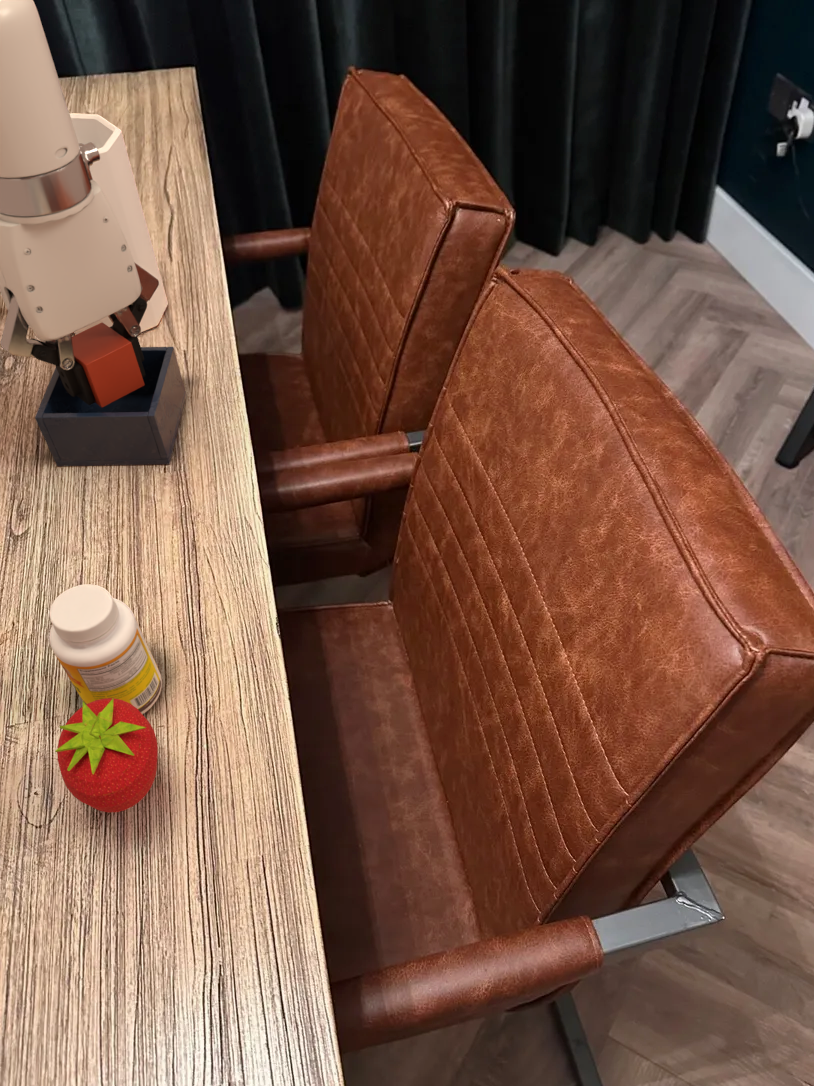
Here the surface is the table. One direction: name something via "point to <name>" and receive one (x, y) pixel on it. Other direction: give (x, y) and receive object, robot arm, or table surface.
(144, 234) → the cup
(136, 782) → the strawberry
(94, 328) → the red block
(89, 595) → the supplement bottle
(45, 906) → the table surface
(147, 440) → the navy tray box
